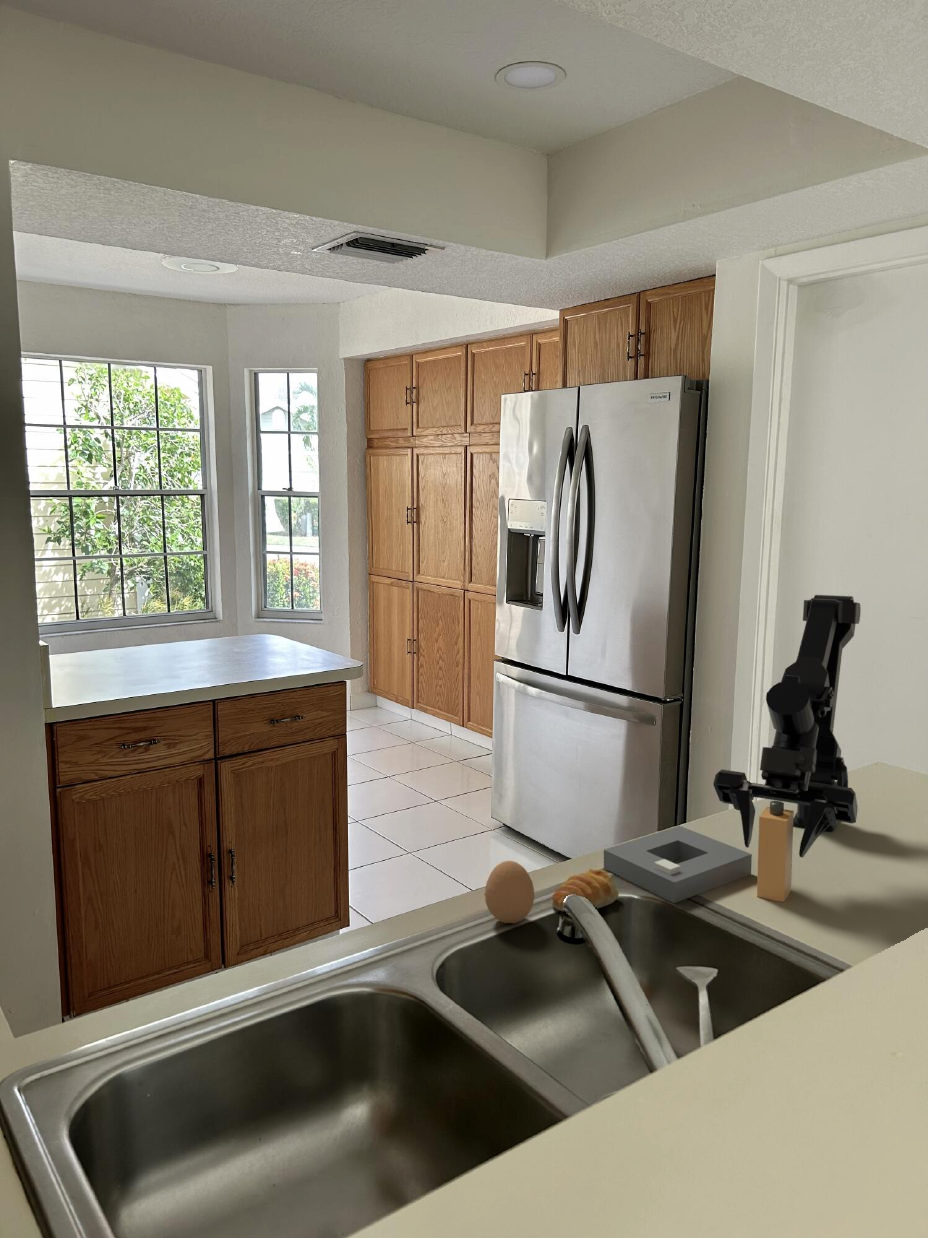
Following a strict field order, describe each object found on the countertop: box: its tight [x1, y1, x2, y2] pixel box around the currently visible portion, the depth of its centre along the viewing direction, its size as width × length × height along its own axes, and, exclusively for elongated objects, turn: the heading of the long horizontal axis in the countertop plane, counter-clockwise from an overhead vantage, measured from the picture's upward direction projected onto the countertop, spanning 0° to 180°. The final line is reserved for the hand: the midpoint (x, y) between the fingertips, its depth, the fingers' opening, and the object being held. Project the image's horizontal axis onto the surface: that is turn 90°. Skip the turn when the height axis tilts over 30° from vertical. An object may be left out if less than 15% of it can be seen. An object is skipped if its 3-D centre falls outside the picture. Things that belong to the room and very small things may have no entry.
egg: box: [484, 860, 535, 924], centre depth 119 cm, size 6×6×8 cm
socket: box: [603, 825, 753, 904], centre depth 133 cm, size 16×14×4 cm
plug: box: [756, 800, 795, 903], centre depth 125 cm, size 4×4×13 cm
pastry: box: [551, 868, 620, 912], centre depth 124 cm, size 9×7×4 cm
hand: (773, 851), depth 124 cm, fingers open, 7 cm apart
